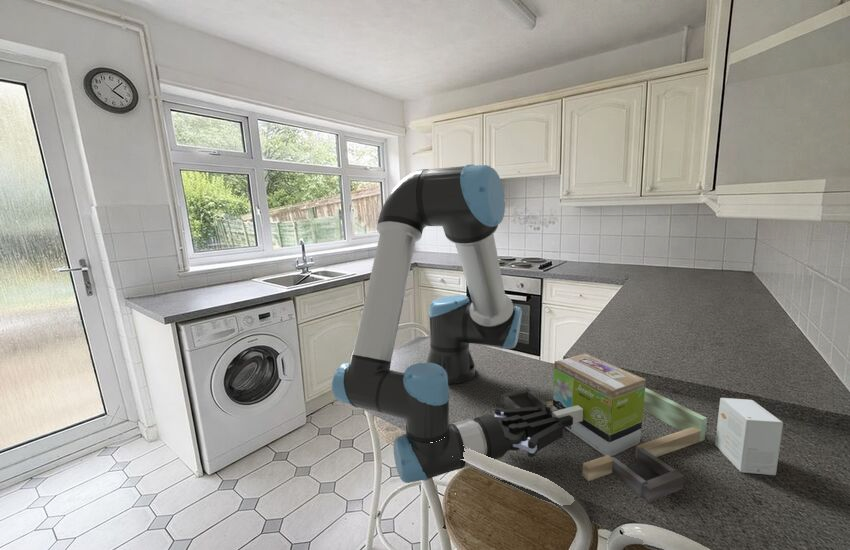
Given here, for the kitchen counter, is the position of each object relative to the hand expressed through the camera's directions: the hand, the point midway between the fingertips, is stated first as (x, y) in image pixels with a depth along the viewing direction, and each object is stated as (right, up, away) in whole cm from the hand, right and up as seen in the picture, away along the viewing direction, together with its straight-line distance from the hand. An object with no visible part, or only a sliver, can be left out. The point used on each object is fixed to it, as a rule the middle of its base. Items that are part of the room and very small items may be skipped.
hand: (580, 413), depth 73 cm
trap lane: (+8, -5, +5) cm, 11 cm away
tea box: (+5, -6, +4) cm, 9 cm away
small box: (+29, -7, -6) cm, 30 cm away
